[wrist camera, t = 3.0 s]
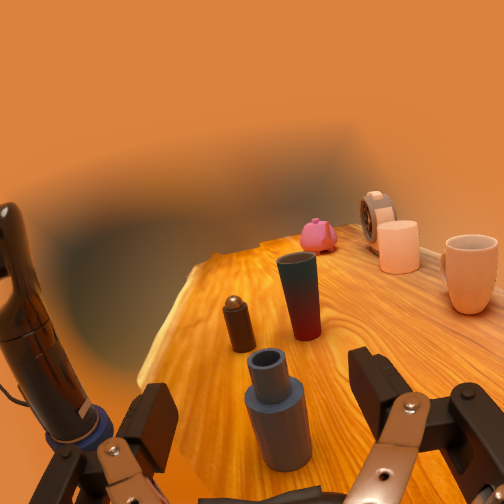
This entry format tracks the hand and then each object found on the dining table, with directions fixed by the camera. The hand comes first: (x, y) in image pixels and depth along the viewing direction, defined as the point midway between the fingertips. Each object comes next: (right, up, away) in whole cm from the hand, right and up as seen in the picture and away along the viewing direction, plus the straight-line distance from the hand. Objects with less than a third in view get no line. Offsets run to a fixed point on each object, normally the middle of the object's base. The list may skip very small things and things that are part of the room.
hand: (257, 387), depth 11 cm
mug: (+42, -5, +34) cm, 54 cm away
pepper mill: (-2, -12, +42) cm, 43 cm away
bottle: (+4, -17, +15) cm, 23 cm away
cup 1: (+10, -10, +41) cm, 44 cm away
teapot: (+26, +6, +97) cm, 101 cm away
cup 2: (+41, +1, +63) cm, 75 cm away
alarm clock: (+44, +6, +81) cm, 92 cm away
